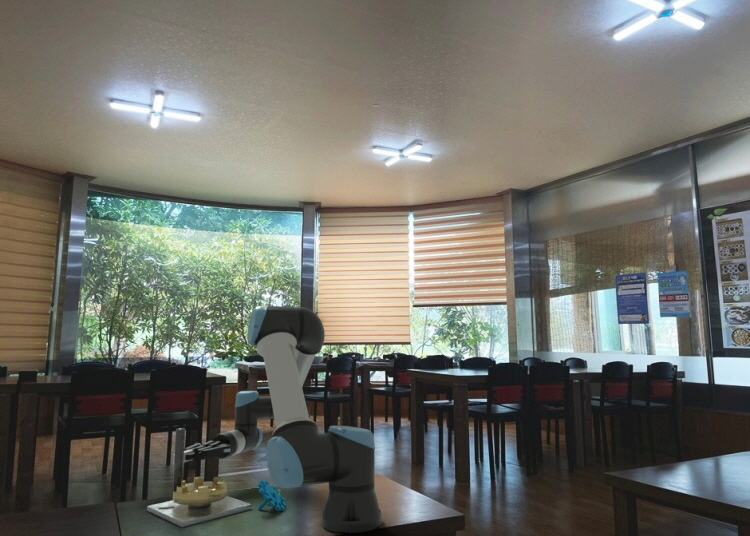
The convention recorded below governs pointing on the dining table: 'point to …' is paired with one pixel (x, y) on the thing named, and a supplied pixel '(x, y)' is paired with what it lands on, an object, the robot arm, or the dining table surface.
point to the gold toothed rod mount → (199, 489)
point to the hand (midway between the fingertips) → (175, 459)
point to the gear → (271, 496)
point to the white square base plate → (197, 511)
